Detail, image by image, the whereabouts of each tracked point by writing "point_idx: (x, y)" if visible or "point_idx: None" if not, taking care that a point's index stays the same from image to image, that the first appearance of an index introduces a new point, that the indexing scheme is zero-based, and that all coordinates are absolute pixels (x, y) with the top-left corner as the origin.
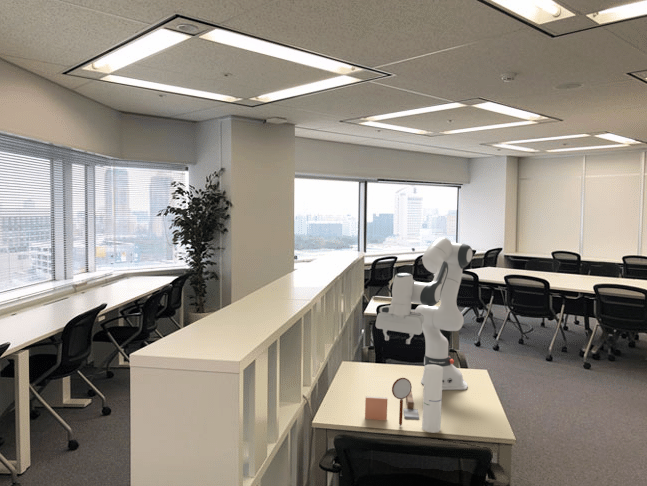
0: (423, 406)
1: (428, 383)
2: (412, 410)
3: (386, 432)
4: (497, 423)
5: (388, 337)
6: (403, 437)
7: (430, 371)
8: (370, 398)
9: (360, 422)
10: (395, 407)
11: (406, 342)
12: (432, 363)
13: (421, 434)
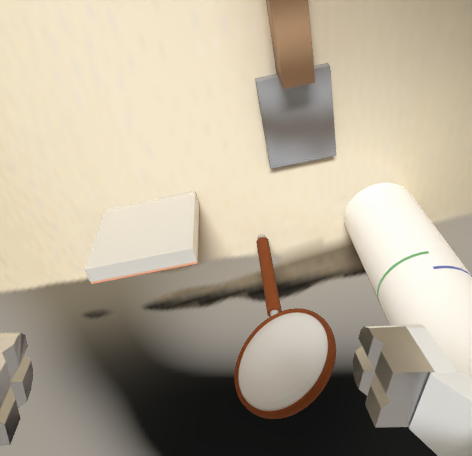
0: (372, 286)
1: None
2: (303, 91)
3: (220, 288)
4: None
5: (13, 407)
6: (280, 298)
7: None
8: (115, 277)
9: None
10: (207, 52)
11: (363, 384)
12: None
13: (339, 264)
